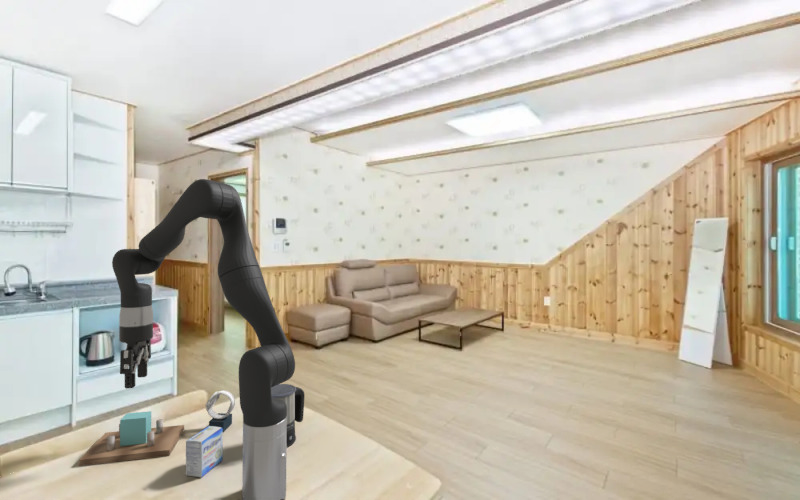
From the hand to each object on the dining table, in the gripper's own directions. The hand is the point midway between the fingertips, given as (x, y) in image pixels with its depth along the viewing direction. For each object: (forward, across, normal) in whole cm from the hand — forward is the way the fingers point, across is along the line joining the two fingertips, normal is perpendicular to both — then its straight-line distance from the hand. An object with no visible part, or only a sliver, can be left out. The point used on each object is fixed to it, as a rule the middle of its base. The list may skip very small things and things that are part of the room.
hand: (136, 382), depth 104 cm
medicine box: (+18, -15, -20) cm, 31 cm away
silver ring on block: (+18, +6, -20) cm, 27 cm away
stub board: (+18, 0, 0) cm, 18 cm away
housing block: (+16, 0, 0) cm, 16 cm away
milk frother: (+18, -3, -35) cm, 40 cm away
